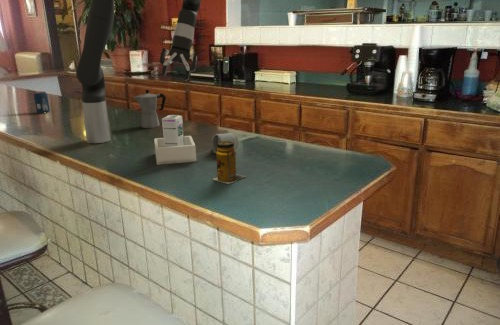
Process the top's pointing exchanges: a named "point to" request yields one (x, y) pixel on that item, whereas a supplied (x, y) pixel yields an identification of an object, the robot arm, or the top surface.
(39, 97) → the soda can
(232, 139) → the ceramic mug
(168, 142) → the syrup box
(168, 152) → the bin
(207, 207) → the top surface
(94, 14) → the robot arm
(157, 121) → the coffeepot
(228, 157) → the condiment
